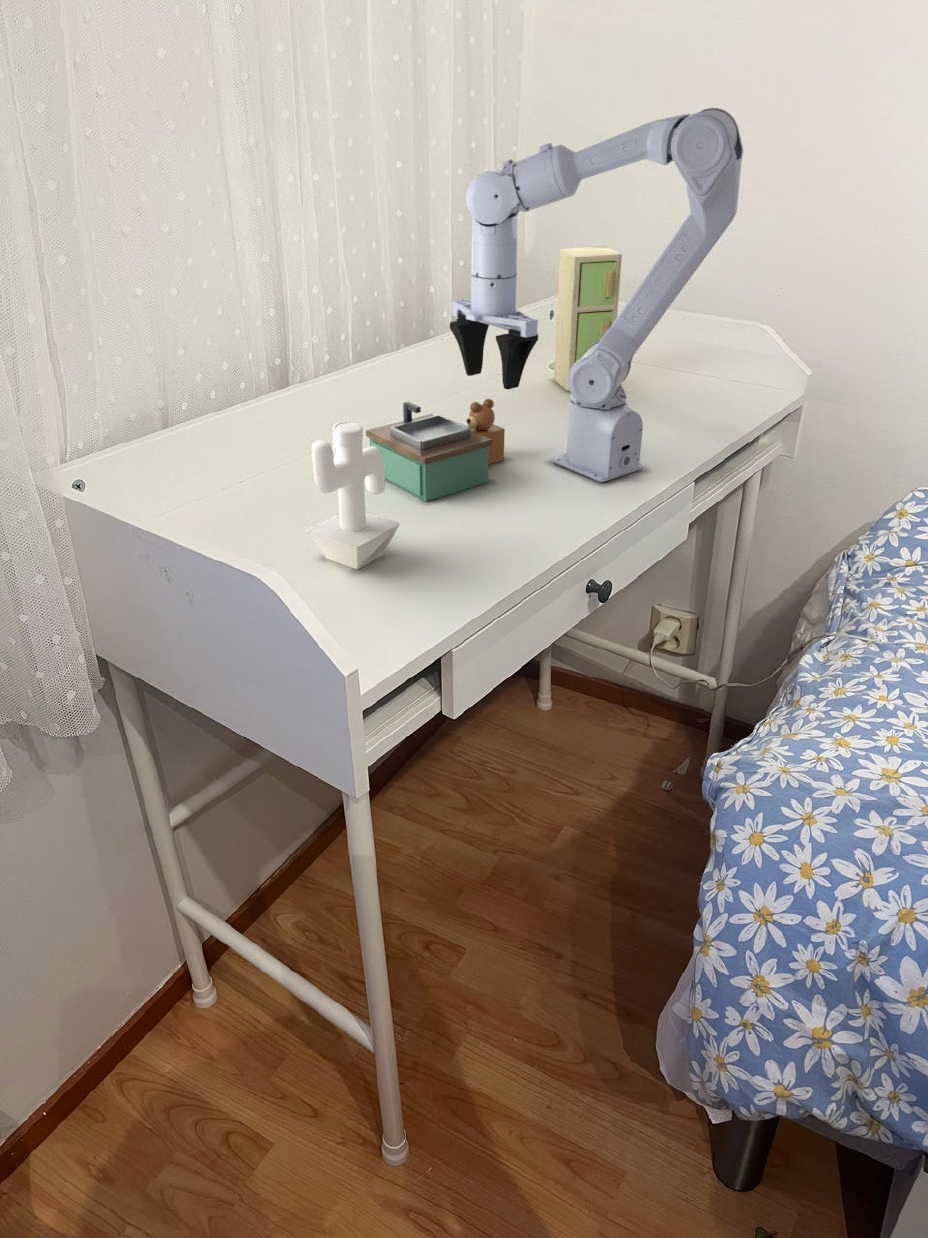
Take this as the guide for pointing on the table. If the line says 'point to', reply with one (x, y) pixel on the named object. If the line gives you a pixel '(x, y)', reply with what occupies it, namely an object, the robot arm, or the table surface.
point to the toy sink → (431, 454)
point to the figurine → (350, 498)
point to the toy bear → (487, 428)
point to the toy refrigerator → (584, 303)
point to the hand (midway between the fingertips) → (492, 380)
